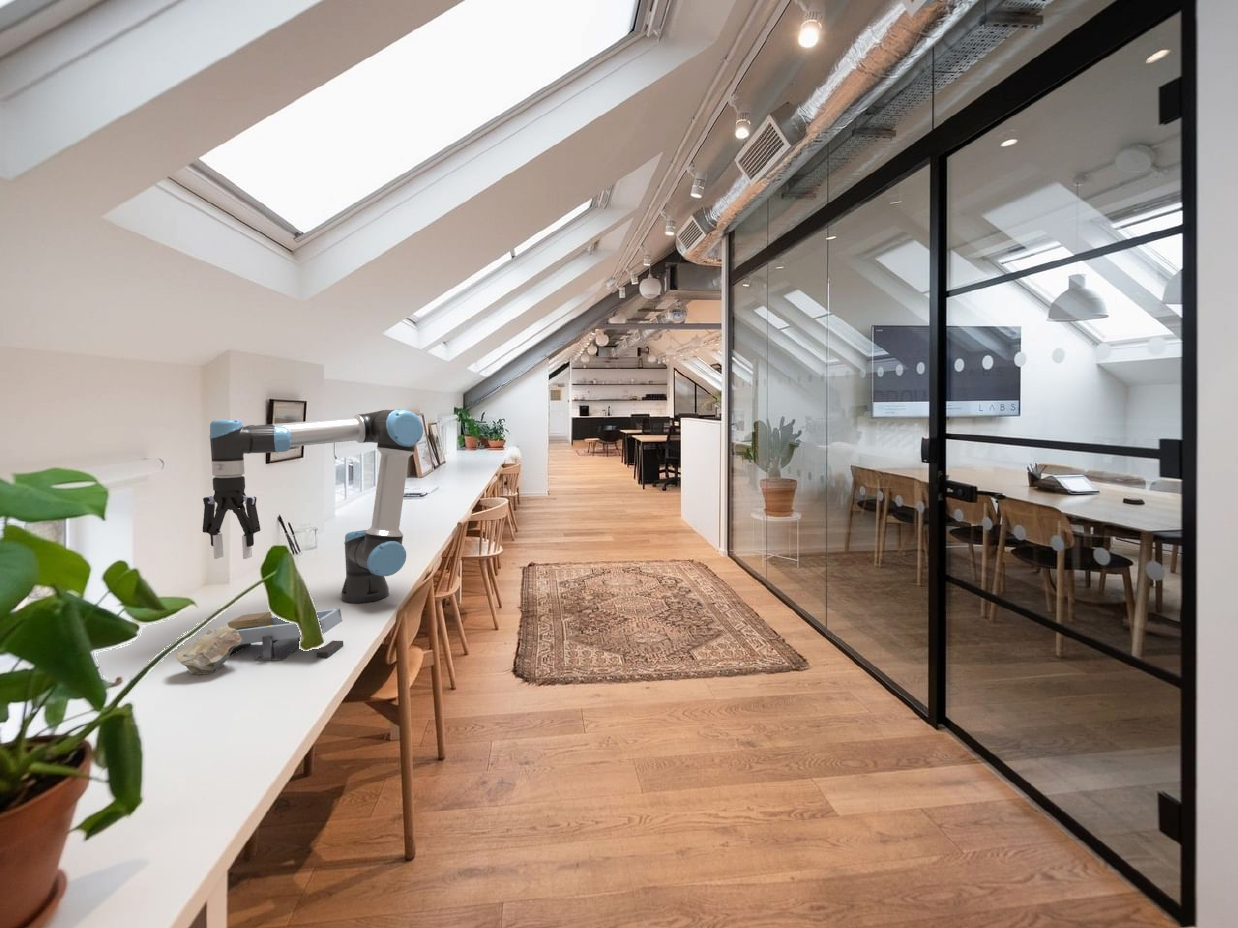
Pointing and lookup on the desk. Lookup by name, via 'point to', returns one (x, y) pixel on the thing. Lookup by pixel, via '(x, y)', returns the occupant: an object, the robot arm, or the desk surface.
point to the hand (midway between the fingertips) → (233, 557)
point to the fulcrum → (286, 648)
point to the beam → (289, 627)
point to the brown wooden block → (251, 621)
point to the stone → (209, 650)
